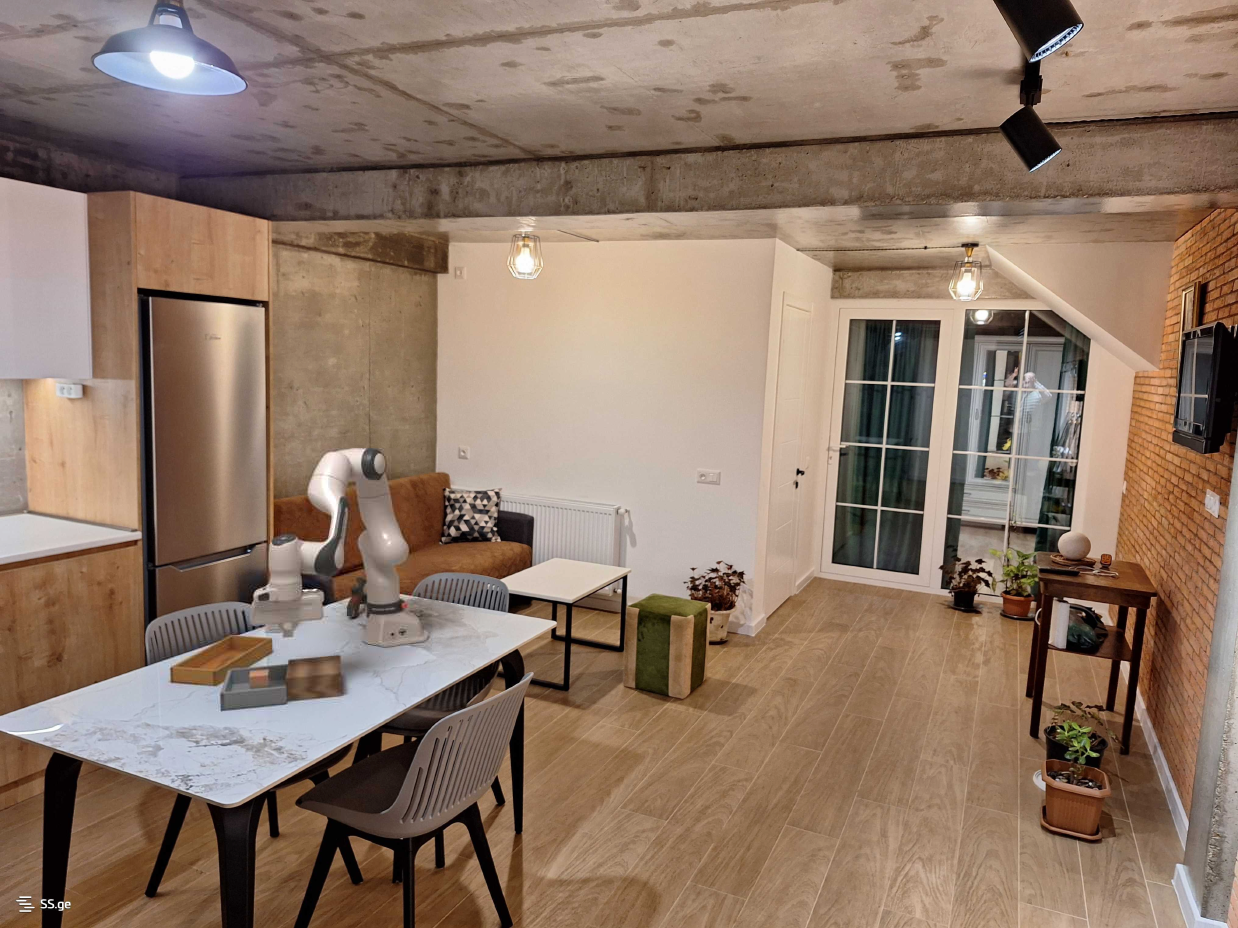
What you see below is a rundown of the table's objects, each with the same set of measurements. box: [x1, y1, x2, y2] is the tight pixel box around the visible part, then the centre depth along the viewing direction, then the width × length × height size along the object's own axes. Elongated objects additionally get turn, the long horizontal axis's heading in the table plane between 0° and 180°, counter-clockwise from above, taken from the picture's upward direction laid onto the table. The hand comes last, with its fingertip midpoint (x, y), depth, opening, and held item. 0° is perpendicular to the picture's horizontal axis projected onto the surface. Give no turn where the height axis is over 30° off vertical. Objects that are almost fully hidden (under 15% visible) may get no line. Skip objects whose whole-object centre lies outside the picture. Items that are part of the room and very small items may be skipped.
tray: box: [169, 634, 273, 687], centre depth 265 cm, size 31×15×6 cm, turn 172°
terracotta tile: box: [249, 669, 269, 687], centre depth 244 cm, size 5×5×3 cm
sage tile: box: [250, 679, 270, 690], centre depth 244 cm, size 5×5×3 cm
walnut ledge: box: [286, 654, 342, 703], centre depth 249 cm, size 15×16×7 cm
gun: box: [345, 577, 367, 618], centre depth 332 cm, size 5×27×15 cm, turn 175°
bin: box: [219, 663, 288, 712], centre depth 244 cm, size 17×20×5 cm
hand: (288, 636), depth 245 cm, fingers closed
